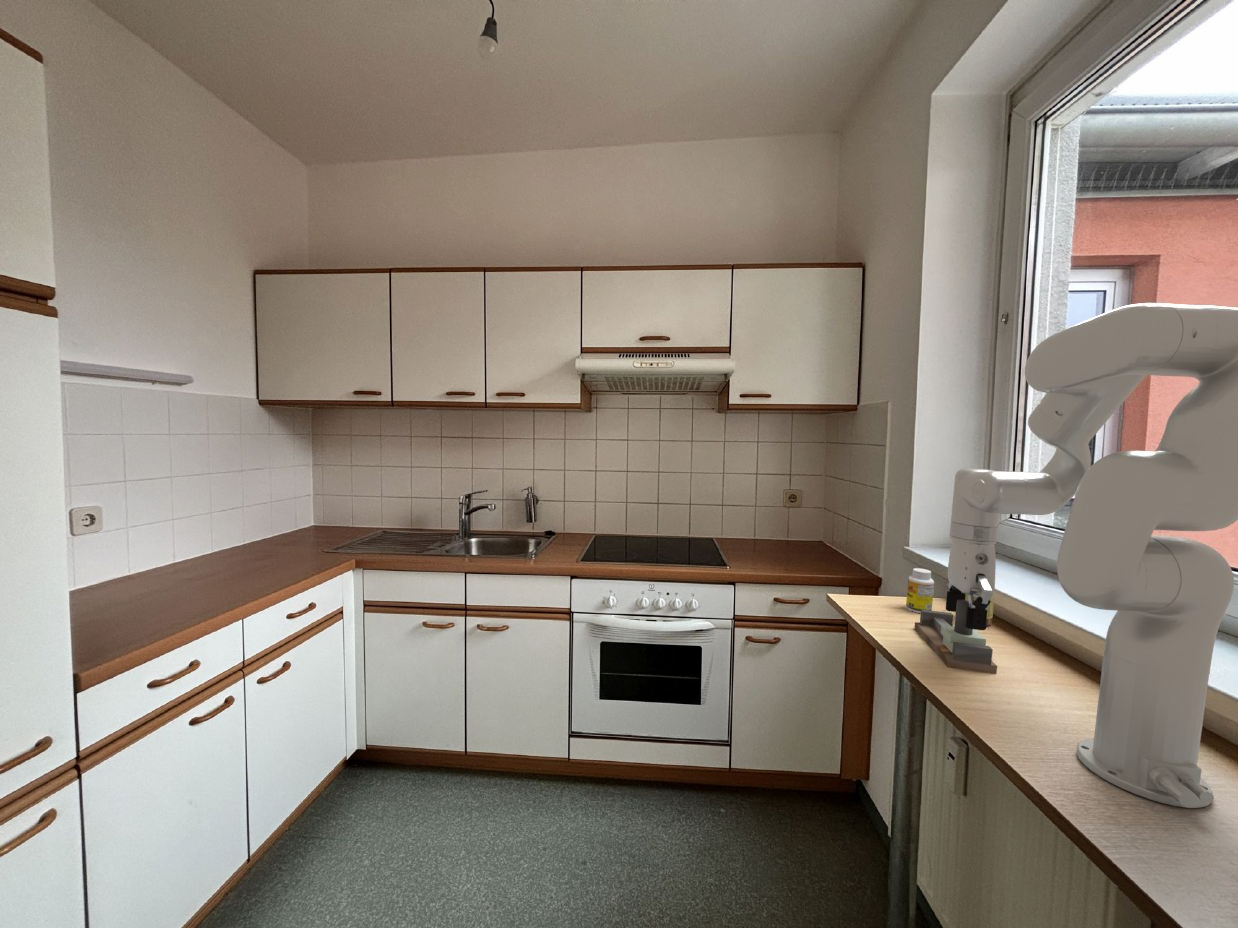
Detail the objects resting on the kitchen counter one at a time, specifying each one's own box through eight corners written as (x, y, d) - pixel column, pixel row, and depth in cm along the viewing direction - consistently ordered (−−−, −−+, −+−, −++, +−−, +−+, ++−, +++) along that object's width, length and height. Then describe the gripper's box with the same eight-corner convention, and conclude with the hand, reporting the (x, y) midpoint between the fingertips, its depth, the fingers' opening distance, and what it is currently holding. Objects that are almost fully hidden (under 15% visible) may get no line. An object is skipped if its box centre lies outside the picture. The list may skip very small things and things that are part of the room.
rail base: (996, 673, 98) (998, 649, 98) (948, 667, 100) (950, 644, 99) (953, 633, 117) (955, 613, 117) (914, 628, 119) (916, 608, 119)
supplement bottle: (904, 605, 135) (907, 565, 134) (928, 608, 133) (932, 568, 132) (907, 612, 130) (911, 571, 129) (933, 616, 128) (937, 574, 127)
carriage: (984, 657, 101) (989, 608, 100) (949, 652, 102) (953, 604, 101) (973, 646, 106) (977, 599, 105) (939, 642, 107) (944, 596, 106)
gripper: (1017, 544, 93) (1008, 639, 94) (975, 526, 110) (967, 607, 111) (969, 540, 94) (960, 633, 96) (935, 523, 111) (927, 603, 113)
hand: (964, 619), depth 103 cm, fingers open, 9 cm apart
